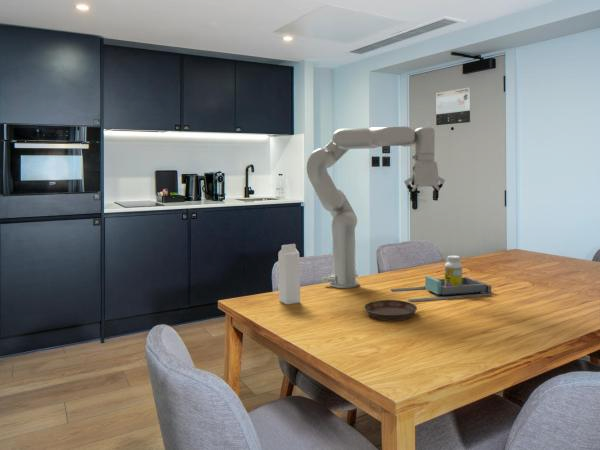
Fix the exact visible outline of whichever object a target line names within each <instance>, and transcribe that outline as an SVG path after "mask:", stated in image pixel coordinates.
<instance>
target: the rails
mask: <svg viewBox="0 0 600 450" xmlns="http://www.w3.org/2000/svg"><path fill="white" fill-rule="evenodd" d="M473 280H476V281H478V282H481V283H483V284H486V292H481V293H480V294H479V293H468V294H455V295H448V296H445V295H442V296H433V297H432V296H431V297H418V298H409V299H408V300H407V302H409V303H412V302H415V303H416V302H425V301H437V300H438V301H439V300H440V301H441V300H451V299H453V300H454V299H462V298H475V297H476V298H478V297H488V296H489V297H490V296H492V285H489V284H488V283H485V282H482V281H481V280H480V281H479V280H477V279H473ZM413 290H414V291H415V290H427V289H426V288H425V286H412V287H411V286H410V287H401V288H400V287H399V288H390V291H391V292H398V291H399V292H402V291H403V292H404V291H413Z"/></svg>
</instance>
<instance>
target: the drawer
mask: <svg viewBox="0 0 600 450" xmlns="http://www.w3.org/2000/svg"><path fill="white" fill-rule="evenodd" d="M476 280H477V279H475V280H474V279H473V278H471V277H467V276H464V277H463V276H462V286H449V287H445V278H435V277H432V276H430V275H426V276H425V284H424V285H425V288H426V289H425V290H428V291H430V292H432V293H434V294H435V295H442V296H454V295H467V294H482V293H485V292H486V284H487V283H485V284H483V283H484V282H482V281H480V282H478V281H479V280H477V281H476ZM481 282H482V283H481Z"/></svg>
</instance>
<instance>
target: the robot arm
mask: <svg viewBox="0 0 600 450" xmlns="http://www.w3.org/2000/svg"><path fill="white" fill-rule="evenodd" d="M435 133H436V131H435V129H434V128H433V127H431V126H430V127H429V126H425V127H424V126H423V127H417V128H411V127H410V126H386V127H385V126H383V127H374V126H373V127H353V128H351V127H347V128H338V129H337V130H335V131H334V133H333V134H332V138H331V140H330V141H329V142H328V143H327V144H326V145H325V146H324V147H319V148H317V149H315V150H313V151H312V153H311V154H310V155H309V157H308V159H307V163H306V174H307V178H308V179H309V181H310V183H311V185H312V187H313V189H314V193H316V196H317V198H318V199H319V201H320V203H321V206H322V207H323V208H324V209H325V210H326V211H327V212H329V213H330V214H331V216H332V221H331V222H332V223H331V234H332V256H333V257H332V261H333V262H332V263H333V264H332V265H333V268H332V271H333V272H332V273H331V275H329V276H322V279H321V280H322V282H327V283H329V286H331V287H333V288H337V289H352V288H353V289H354V288H356V287H359V286H360V282H359V281H358V280H356V227H357V225H358V216H357V215H356V212H355V211H354V209H353V208H352V205H351V203H350V202H349V199H348V198H347V196H346V194H345V193H344V191H342V190H340V189H338V188H337V187H336V185H335V183H334V181H333V179H332V178H331V175H330V174H329V172H328V168H331V167H332V166H334V165H335V164H336V163H337V162H338V161H339V160H340V159H341V158H342V157H343V156H345V154H347V152H349V150H357V149H358V150H359V149H360V150H361V149H365V150H367V149H369V150H370V149H375V148H379V147H396V146H397V147H399V146H401V147H405V148H406V147H407V148H408V147H412V146H413V147H414V146H415V149H414V150H415V151H414V153H415V154H414V155H412V157H411V159H412V160H414V161H413V165H412V170H411V176H409V177H408V178H406V179H405V180H404V181H403V182H404V184H405V186H406V188H407V190H409V193H410V195H409V198H410V199H409V200H410V201H411V202H416V201H417V200H416V199H417V191H416V189H418V188H419V187H423V188H424V187H431V188H432V189H433V190H432V200H433V201H436V202H437V201H439V194H440V193H439V192H440V191H441V188H443V185H444V183H445V181H446V179H444V178H443V177H440V176H439V170H438V163H437V161H435V143H436V142H435V136H436V135H435ZM410 182H411V184H410Z"/></svg>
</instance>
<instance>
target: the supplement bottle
mask: <svg viewBox="0 0 600 450" xmlns="http://www.w3.org/2000/svg"><path fill="white" fill-rule="evenodd" d="M460 259H461V257H460V256H459V255H448V256H447V262H446V263H445V264H444V279H445V287H449V286H462V277H463V263H462V262H460Z"/></svg>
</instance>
